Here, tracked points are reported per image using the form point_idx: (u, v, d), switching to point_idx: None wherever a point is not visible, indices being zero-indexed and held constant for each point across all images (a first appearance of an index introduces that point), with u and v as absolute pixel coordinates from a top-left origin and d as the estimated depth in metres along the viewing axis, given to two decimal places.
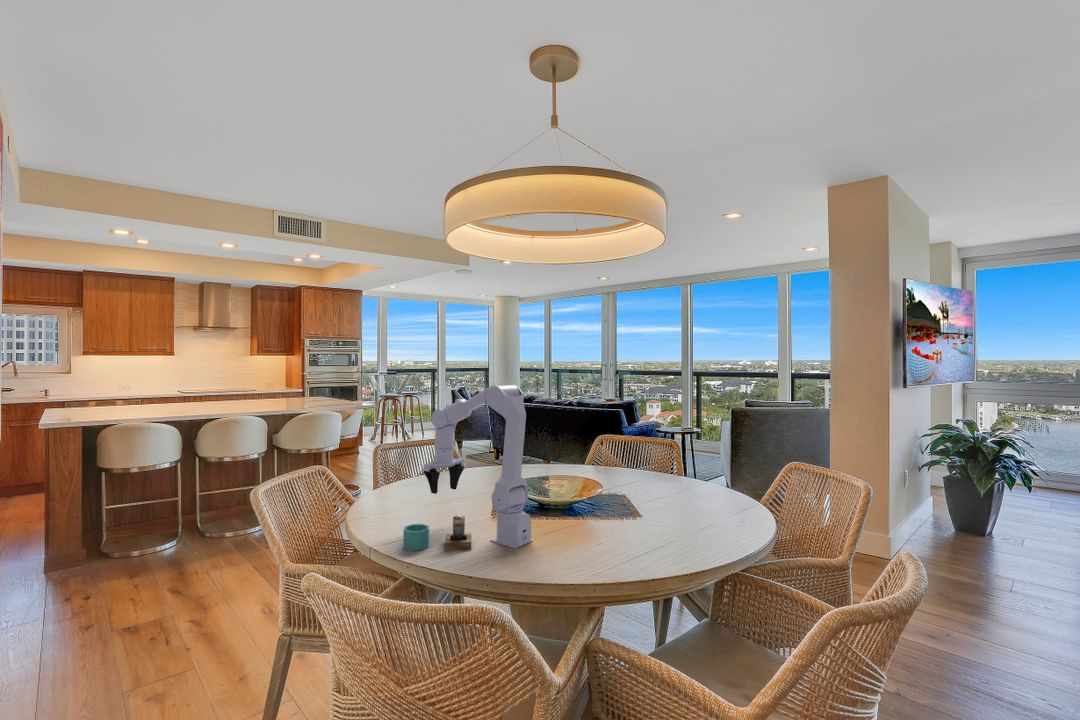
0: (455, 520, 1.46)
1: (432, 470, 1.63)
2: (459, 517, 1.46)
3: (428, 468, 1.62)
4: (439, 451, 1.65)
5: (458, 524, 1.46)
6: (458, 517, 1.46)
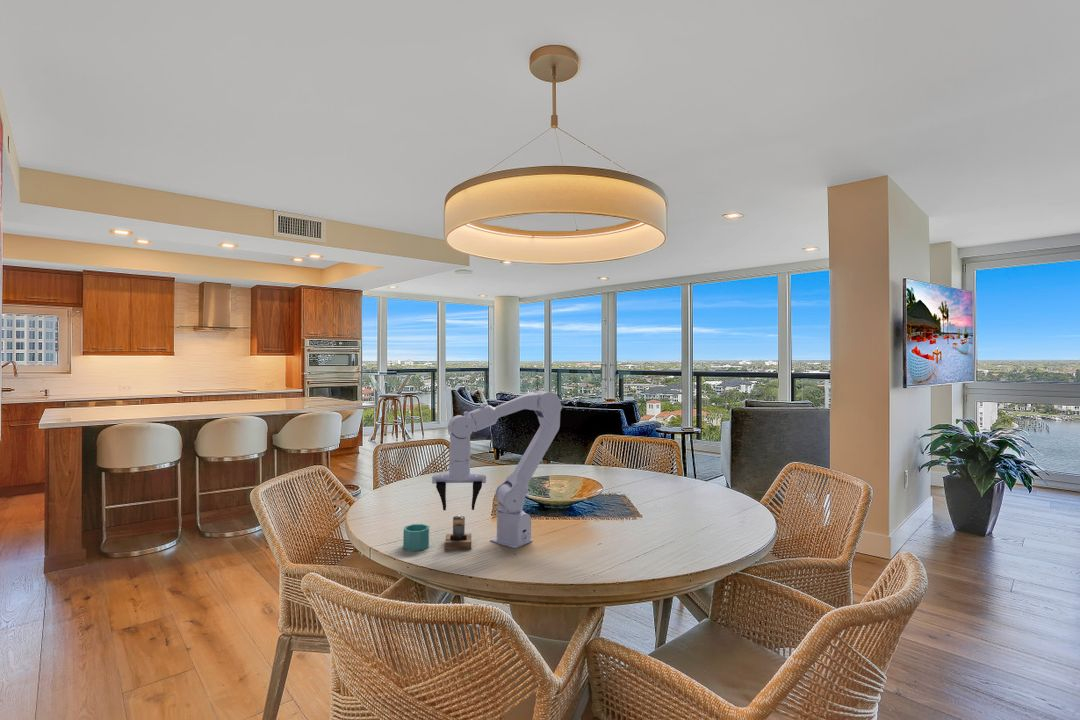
0: (455, 520, 1.46)
1: (439, 483, 1.46)
2: (459, 517, 1.46)
3: (433, 480, 1.45)
4: (449, 463, 1.46)
5: (458, 524, 1.46)
6: (458, 517, 1.46)
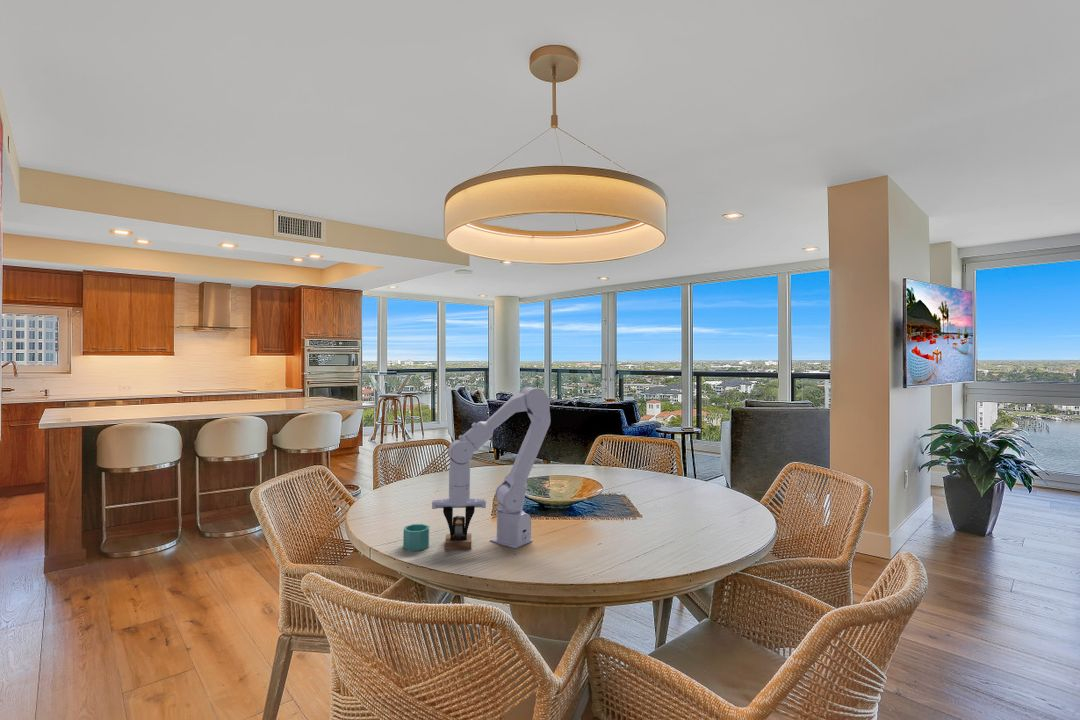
0: (455, 520, 1.46)
1: None
2: (459, 517, 1.46)
3: (433, 505, 1.45)
4: (449, 488, 1.46)
5: (458, 524, 1.46)
6: (458, 517, 1.46)
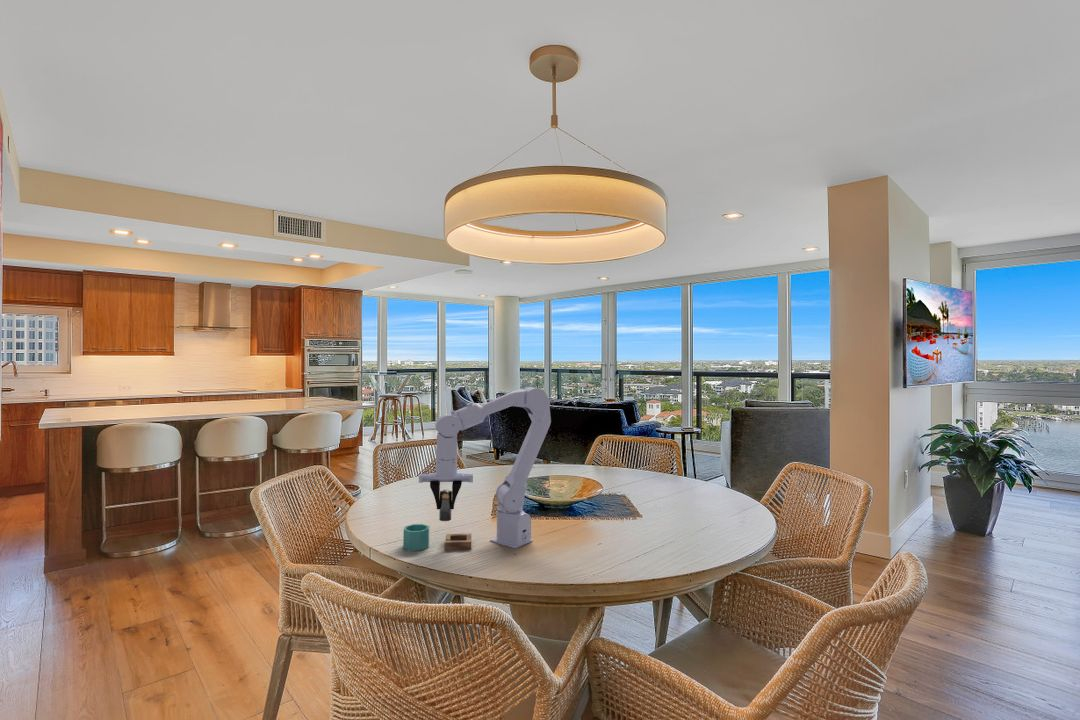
0: (442, 494, 1.45)
1: None
2: (446, 491, 1.46)
3: (420, 479, 1.45)
4: (436, 462, 1.45)
5: (445, 498, 1.45)
6: (445, 491, 1.46)
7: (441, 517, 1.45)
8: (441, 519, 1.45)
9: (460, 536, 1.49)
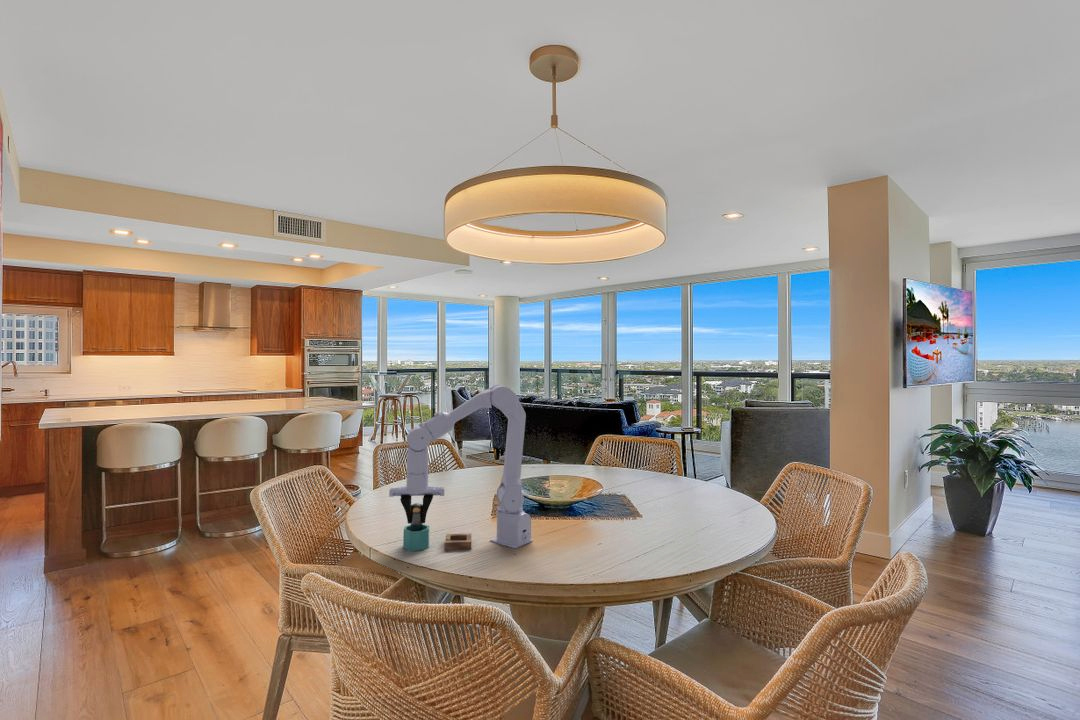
0: (413, 508, 1.44)
1: None
2: (417, 505, 1.45)
3: (390, 493, 1.44)
4: (407, 476, 1.45)
5: (416, 512, 1.44)
6: (416, 505, 1.45)
7: None
8: None
9: (460, 536, 1.49)
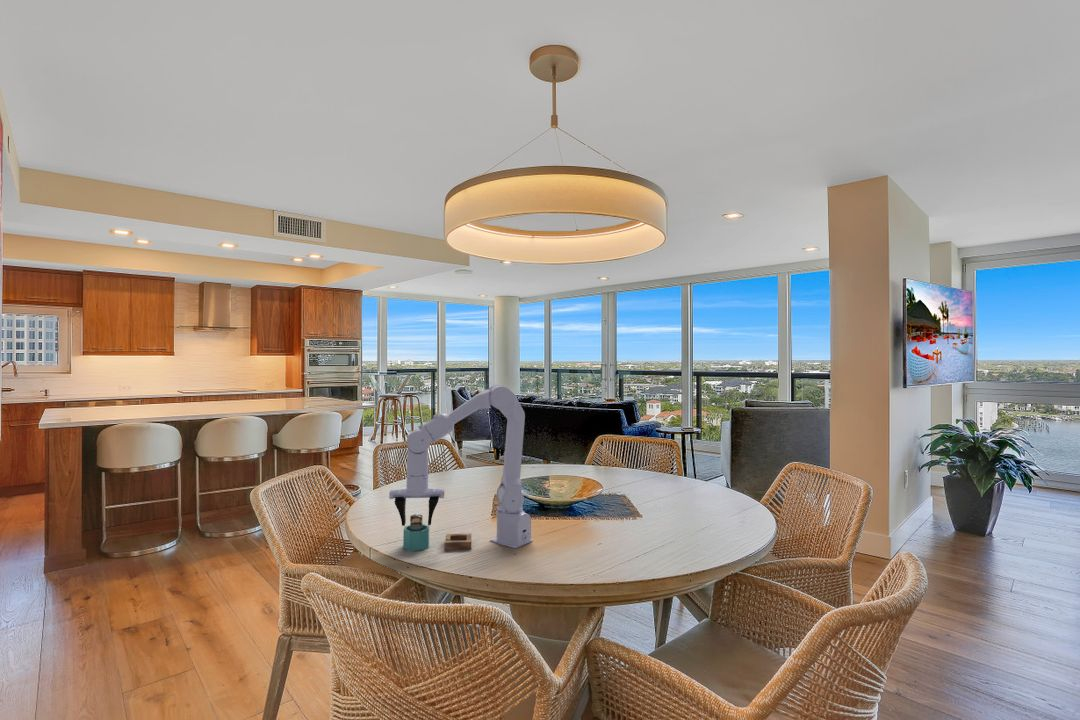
0: (412, 519, 1.44)
1: (396, 498, 1.44)
2: (416, 516, 1.45)
3: (390, 495, 1.44)
4: (407, 478, 1.44)
5: (415, 523, 1.44)
6: (415, 516, 1.45)
7: None
8: None
9: (460, 536, 1.49)
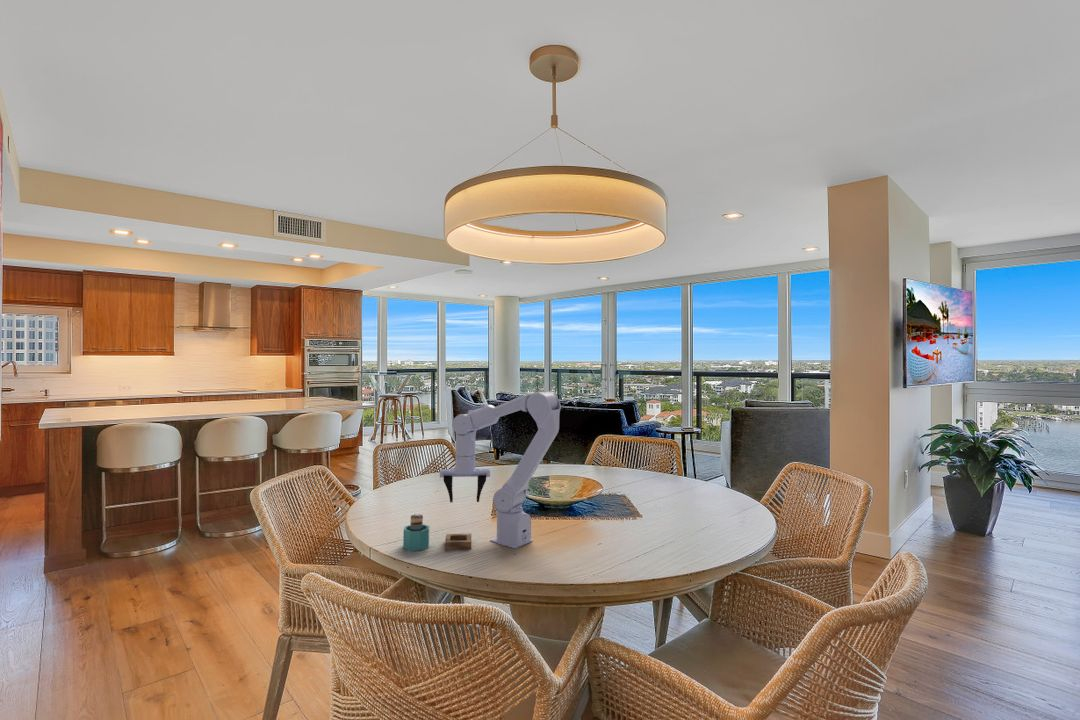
0: (412, 519, 1.44)
1: (446, 477, 1.55)
2: (417, 516, 1.45)
3: (441, 474, 1.55)
4: (456, 458, 1.56)
5: (416, 523, 1.44)
6: (416, 516, 1.45)
7: None
8: None
9: (460, 536, 1.49)
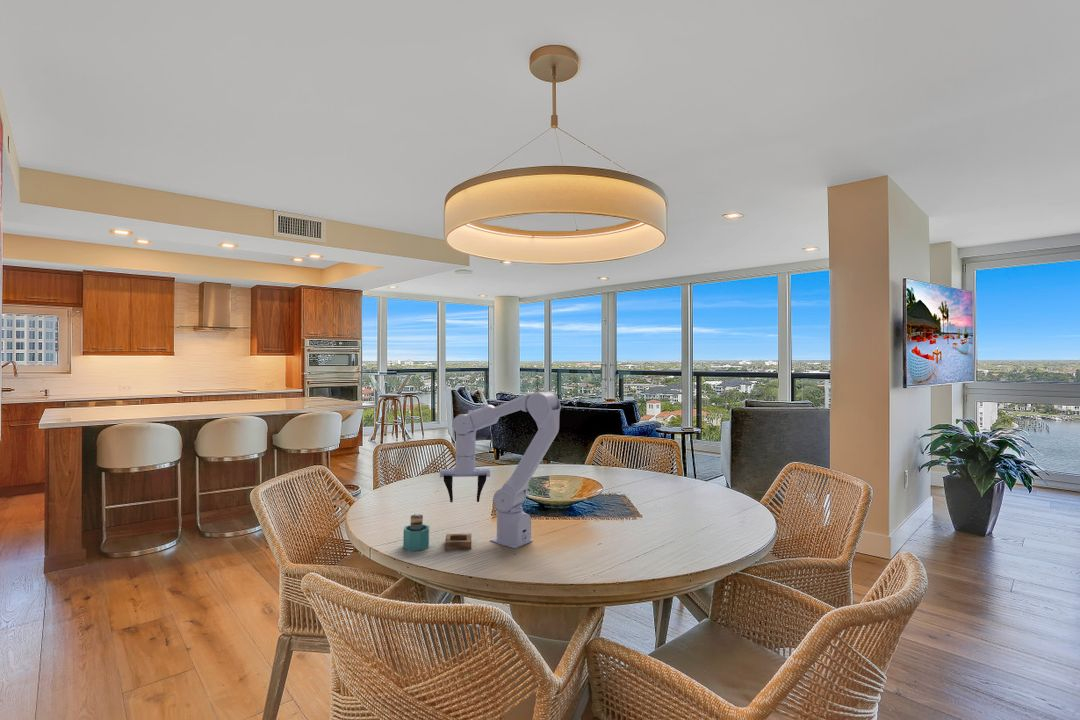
0: (412, 519, 1.44)
1: (446, 477, 1.56)
2: (417, 516, 1.45)
3: (441, 474, 1.55)
4: (456, 458, 1.56)
5: (416, 523, 1.44)
6: (416, 516, 1.45)
7: None
8: None
9: (460, 536, 1.49)
